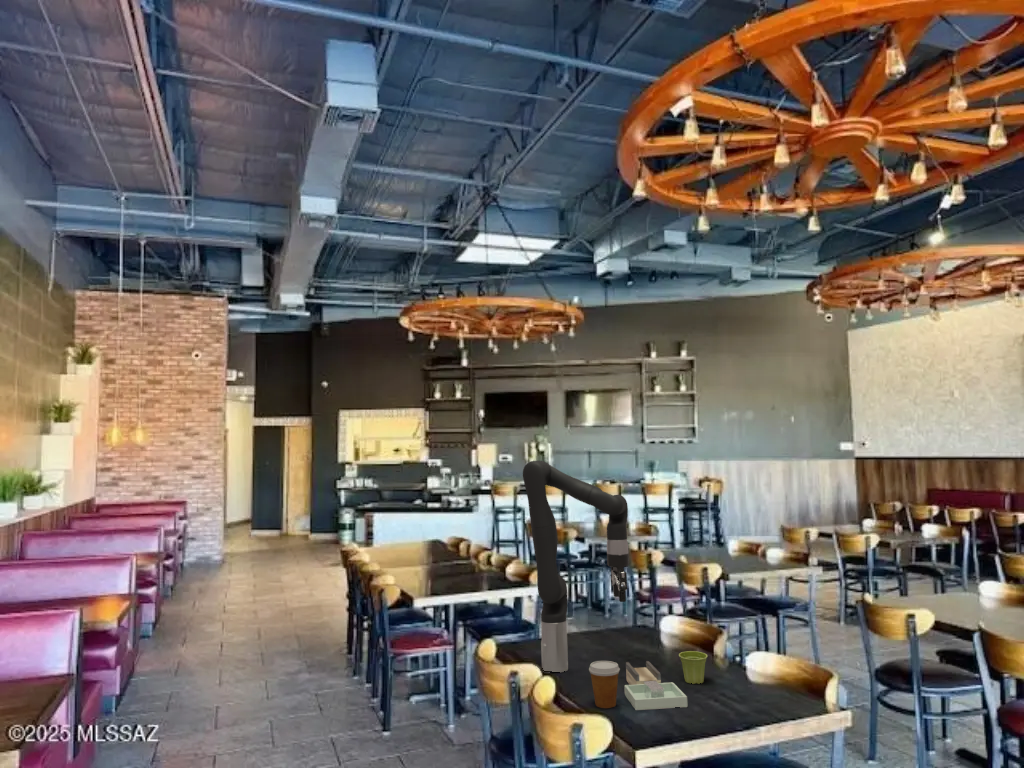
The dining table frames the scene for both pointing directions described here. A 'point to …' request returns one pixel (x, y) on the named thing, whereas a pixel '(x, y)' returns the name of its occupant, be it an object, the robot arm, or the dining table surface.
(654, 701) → the tray
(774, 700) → the dining table surface
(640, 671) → the slot board
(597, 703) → the disposable coffee cup
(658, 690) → the pale grey cube
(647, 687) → the light grey cube
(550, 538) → the robot arm
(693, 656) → the plant pot
